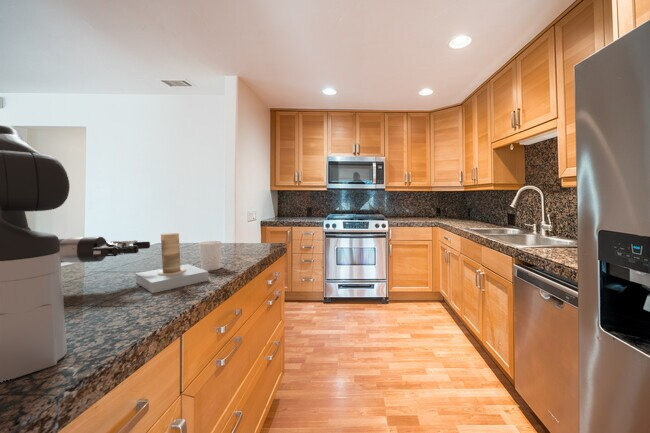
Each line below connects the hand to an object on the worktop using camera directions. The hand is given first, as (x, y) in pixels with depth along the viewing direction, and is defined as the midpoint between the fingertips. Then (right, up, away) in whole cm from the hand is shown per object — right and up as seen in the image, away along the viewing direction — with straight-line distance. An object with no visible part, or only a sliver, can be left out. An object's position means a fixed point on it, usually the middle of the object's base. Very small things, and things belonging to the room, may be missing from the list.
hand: (144, 247), depth 86 cm
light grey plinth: (+8, -11, +2) cm, 14 cm away
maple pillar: (+8, -8, +2) cm, 11 cm away
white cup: (+13, -11, +19) cm, 25 cm away
